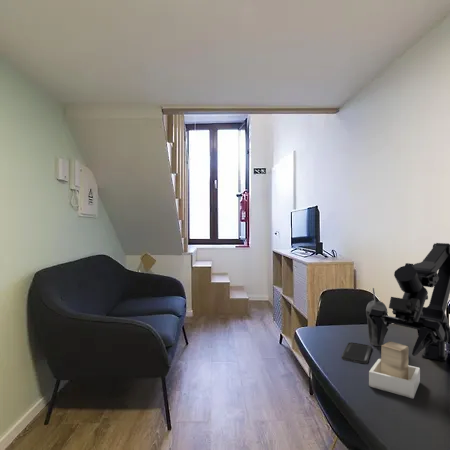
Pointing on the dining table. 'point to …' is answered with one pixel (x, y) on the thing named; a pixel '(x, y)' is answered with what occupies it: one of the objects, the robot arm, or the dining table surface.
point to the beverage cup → (371, 326)
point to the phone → (357, 352)
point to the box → (395, 381)
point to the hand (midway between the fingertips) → (395, 350)
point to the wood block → (394, 360)
